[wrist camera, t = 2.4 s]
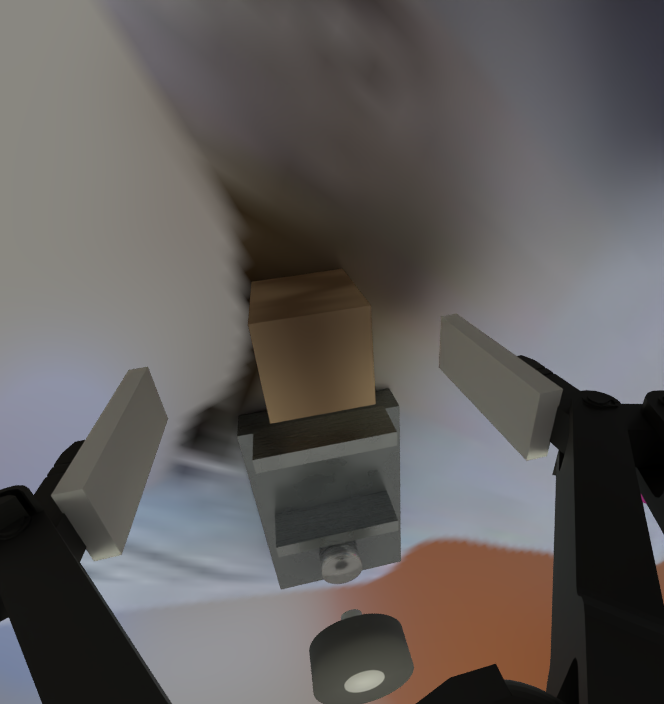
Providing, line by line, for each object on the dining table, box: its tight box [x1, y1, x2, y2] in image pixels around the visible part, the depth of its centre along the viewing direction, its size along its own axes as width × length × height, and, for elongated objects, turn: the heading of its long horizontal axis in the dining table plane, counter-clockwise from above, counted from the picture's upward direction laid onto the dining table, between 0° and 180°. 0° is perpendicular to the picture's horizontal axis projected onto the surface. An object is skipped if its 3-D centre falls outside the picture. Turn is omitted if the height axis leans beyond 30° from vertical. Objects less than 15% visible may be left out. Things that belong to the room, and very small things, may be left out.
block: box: [248, 269, 376, 424], centre depth 18 cm, size 5×5×6 cm
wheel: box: [309, 609, 414, 704], centre depth 23 cm, size 6×6×4 cm
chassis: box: [237, 389, 401, 589], centre depth 25 cm, size 10×16×4 cm, turn 5°
